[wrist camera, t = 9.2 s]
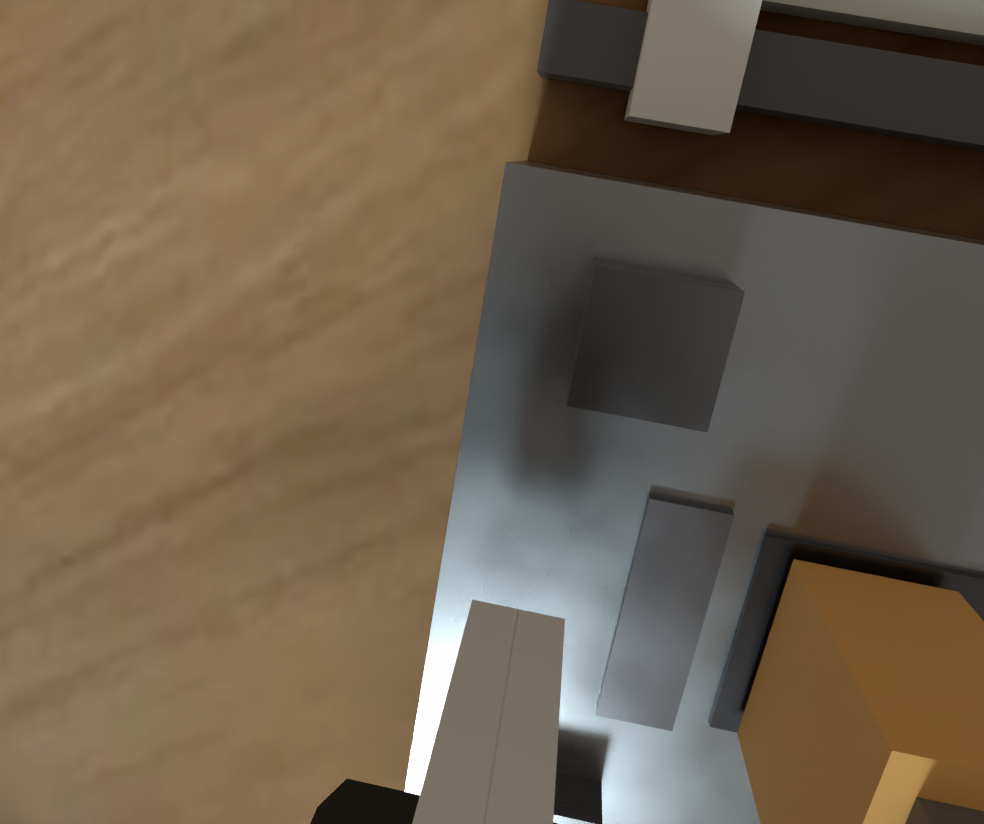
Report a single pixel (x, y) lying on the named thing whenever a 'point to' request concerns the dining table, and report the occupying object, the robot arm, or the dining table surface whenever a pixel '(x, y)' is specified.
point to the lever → (867, 704)
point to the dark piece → (773, 65)
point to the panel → (698, 459)
